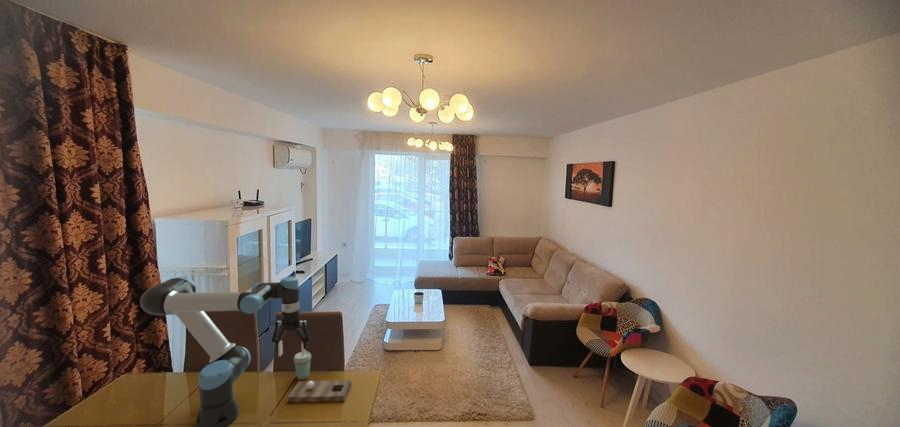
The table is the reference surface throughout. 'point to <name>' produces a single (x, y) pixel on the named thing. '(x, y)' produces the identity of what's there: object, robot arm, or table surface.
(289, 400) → the deck
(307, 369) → the coffee cup
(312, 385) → the ball
